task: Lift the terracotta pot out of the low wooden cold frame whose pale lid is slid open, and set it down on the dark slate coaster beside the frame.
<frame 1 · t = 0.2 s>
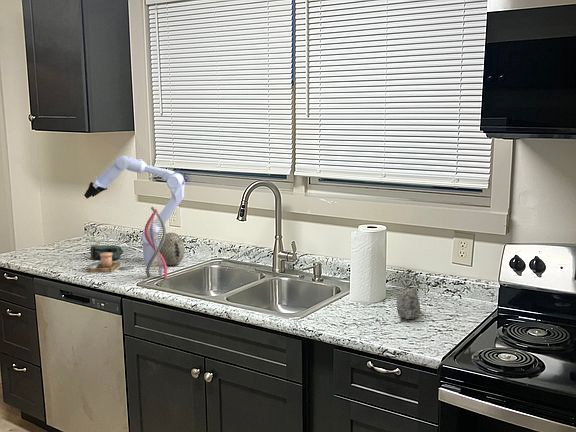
hand: (88, 196, 290), 31 cm above the worktop, fingers open, 7 cm apart
coaster: (126, 269, 281), on the worktop
rock: (409, 315, 218), on the worktop
cold frame: (104, 269, 281), on the worktop
dna model: (157, 278, 266), on the worktop
sculpture: (106, 260, 300), on the worktop
pot: (106, 268, 281), resting on cold frame
decorative egg: (172, 265, 289), on the worktop
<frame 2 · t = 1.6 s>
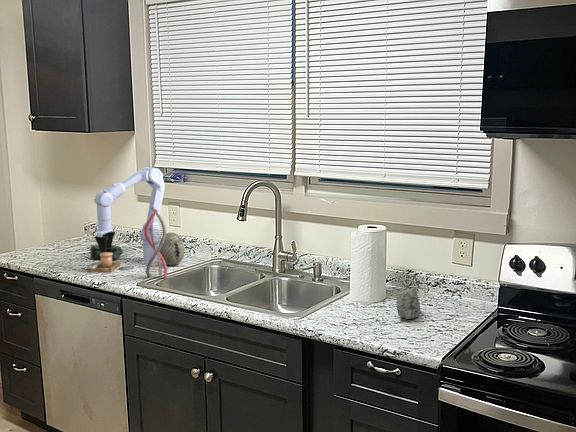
hand: (105, 249, 279), 9 cm above the worktop, fingers open, 7 cm apart
nothing on the worktop moved.
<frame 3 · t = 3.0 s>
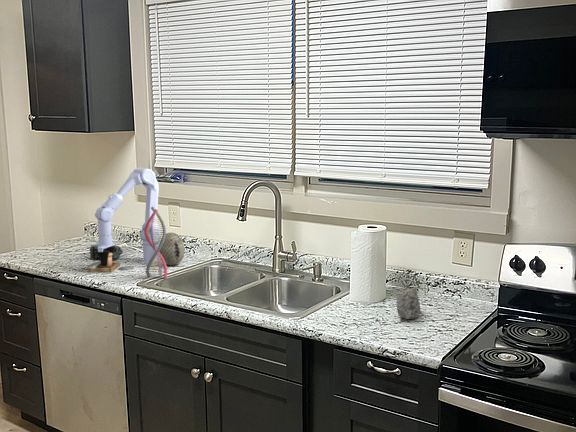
hand: (106, 264, 280), 2 cm above the worktop, fingers closed on pot, 5 cm apart
pot: (106, 268, 281), resting on cold frame, touching gripper
everything else where it was.
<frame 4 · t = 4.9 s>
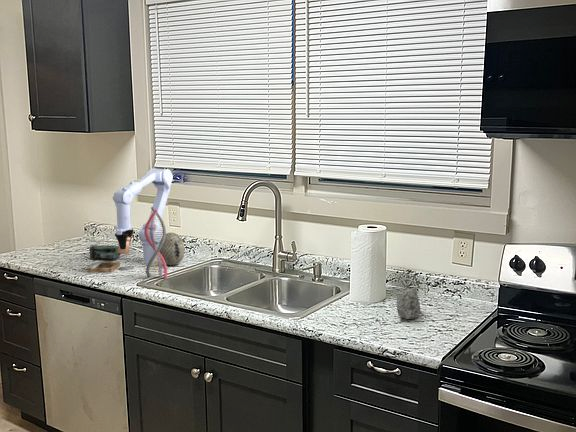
hand: (125, 247, 280), 10 cm above the worktop, fingers closed on pot, 5 cm apart
pot: (123, 252, 280), point 8 cm above the worktop, tilted 5°, touching gripper
everything else where it was.
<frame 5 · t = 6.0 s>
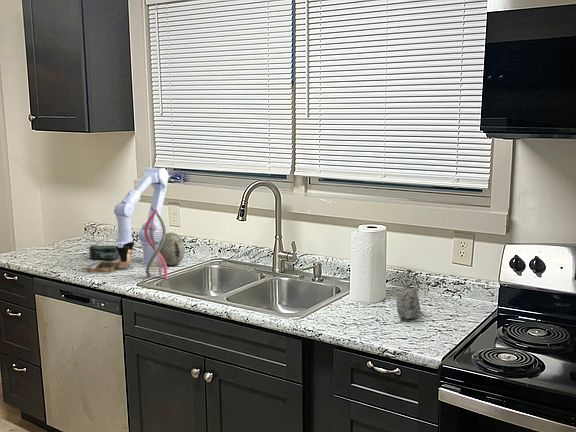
hand: (126, 260, 280), 4 cm above the worktop, fingers closed on pot, 5 cm apart
pot: (124, 265, 281), point 2 cm above the worktop, tilted 5°, touching gripper
everything else where it was.
when the fingers open (4 cm above the worktop, at t = 7.0 s): pot drops 1 cm, resting on coaster.
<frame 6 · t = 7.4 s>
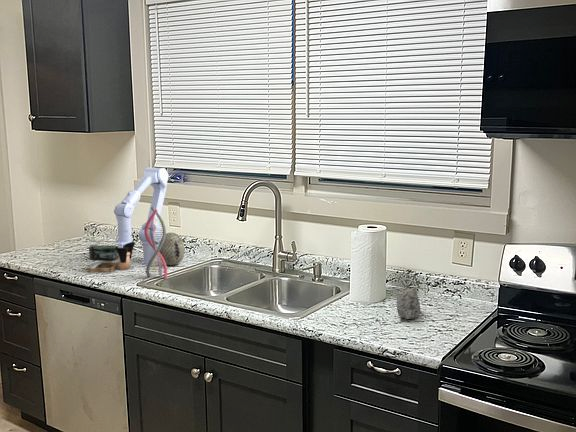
hand: (126, 260, 280), 4 cm above the worktop, fingers open, 7 cm apart
pot: (124, 268, 281), point 1 cm above the worktop, touching coaster
everything else where it was.
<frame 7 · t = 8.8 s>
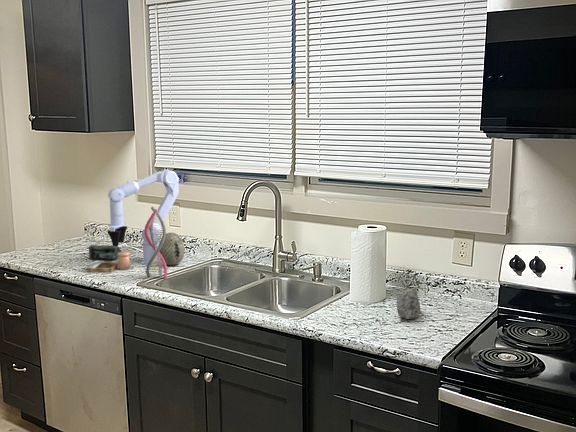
hand: (118, 244, 287), 10 cm above the worktop, fingers open, 7 cm apart
nothing on the worktop moved.
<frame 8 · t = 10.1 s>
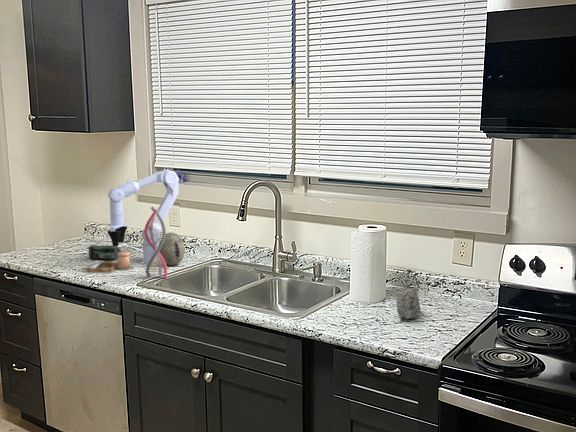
hand: (118, 244, 287), 10 cm above the worktop, fingers open, 7 cm apart
nothing on the worktop moved.
at the end: pot 0.8 cm from the coaster (horizontally); pot tilted 0°; pot point 0.5 cm above the worktop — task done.
